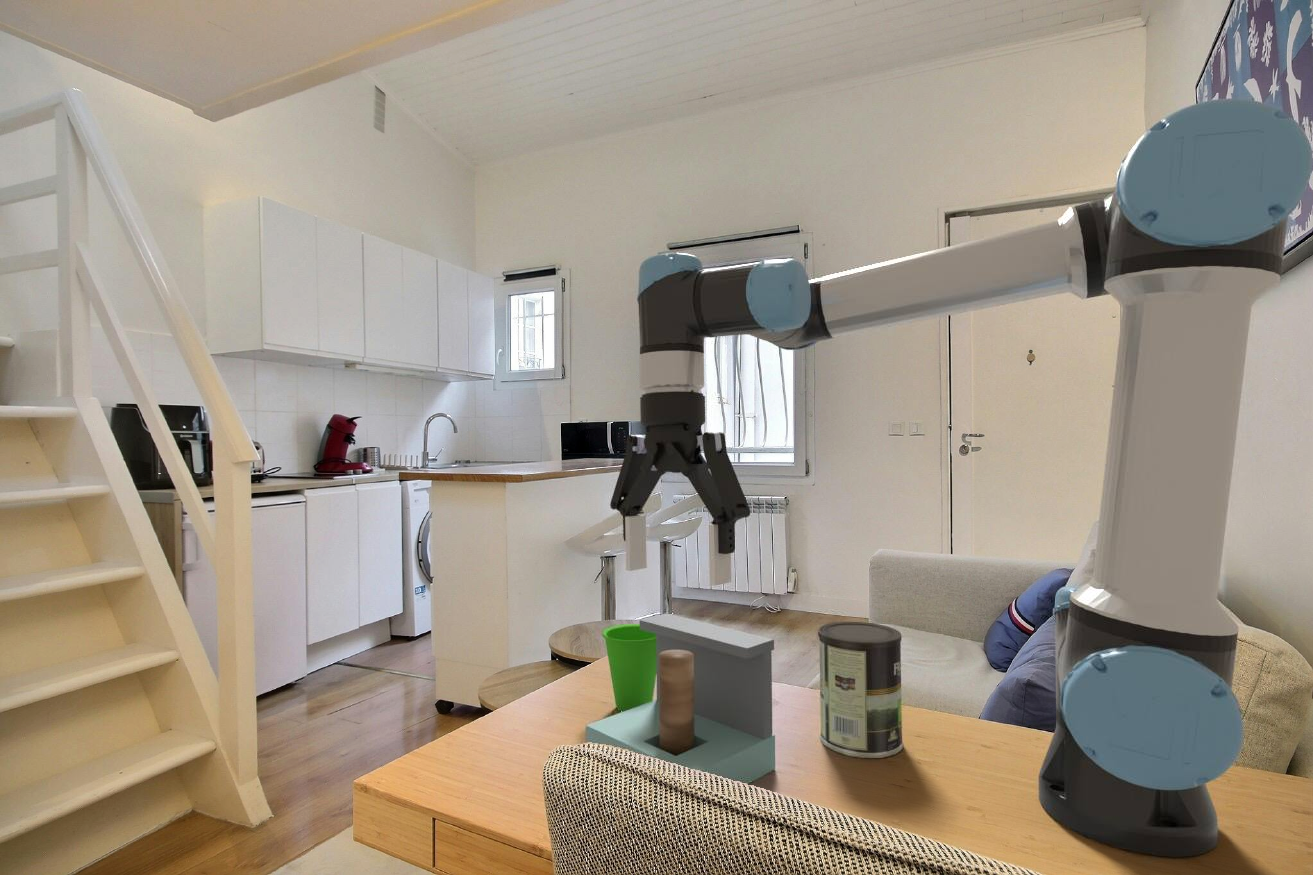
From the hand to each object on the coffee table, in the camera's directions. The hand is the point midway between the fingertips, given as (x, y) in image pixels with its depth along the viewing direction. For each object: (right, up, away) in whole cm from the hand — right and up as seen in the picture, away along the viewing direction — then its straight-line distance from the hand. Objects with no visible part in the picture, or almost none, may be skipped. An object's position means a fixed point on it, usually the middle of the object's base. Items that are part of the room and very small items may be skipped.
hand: (675, 576), depth 80 cm
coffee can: (+24, -23, +9) cm, 34 cm away
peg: (0, -23, 0) cm, 23 cm away
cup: (-6, -24, +21) cm, 32 cm away
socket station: (0, -23, +3) cm, 23 cm away
